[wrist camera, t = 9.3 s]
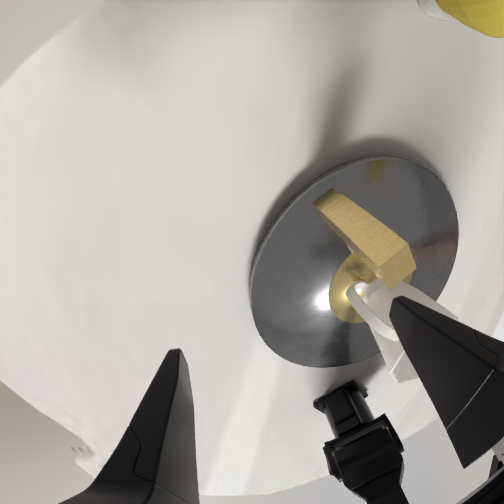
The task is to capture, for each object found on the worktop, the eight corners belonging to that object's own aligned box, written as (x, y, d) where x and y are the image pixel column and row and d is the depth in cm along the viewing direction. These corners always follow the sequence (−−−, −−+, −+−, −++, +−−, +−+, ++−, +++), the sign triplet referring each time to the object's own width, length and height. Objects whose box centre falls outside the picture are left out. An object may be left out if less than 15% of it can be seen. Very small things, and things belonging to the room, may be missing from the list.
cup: (378, 329, 27) (417, 386, 20) (306, 303, 24) (345, 378, 17) (420, 275, 25) (471, 326, 18) (357, 233, 21) (420, 294, 14)
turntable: (462, 276, 29) (512, 322, 20) (321, 384, 32) (349, 449, 24) (414, 106, 18) (512, 128, 10) (191, 273, 22) (194, 376, 13)
